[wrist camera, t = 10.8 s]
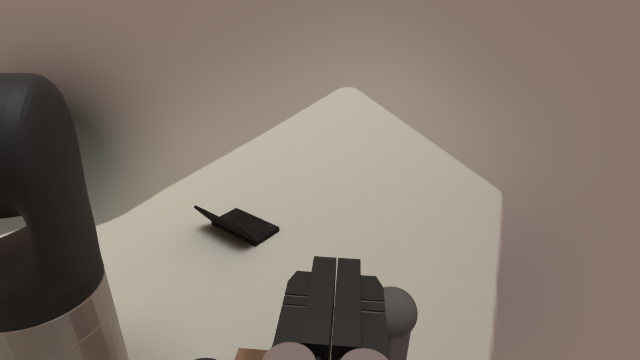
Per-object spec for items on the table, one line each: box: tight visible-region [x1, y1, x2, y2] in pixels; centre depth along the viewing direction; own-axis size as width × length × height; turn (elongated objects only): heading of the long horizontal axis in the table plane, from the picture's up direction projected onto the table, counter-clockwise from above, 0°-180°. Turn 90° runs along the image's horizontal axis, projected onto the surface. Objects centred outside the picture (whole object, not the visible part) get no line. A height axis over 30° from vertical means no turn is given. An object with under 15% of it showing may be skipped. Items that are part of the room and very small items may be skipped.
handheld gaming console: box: [194, 206, 279, 247], centre depth 69 cm, size 12×7×10 cm
